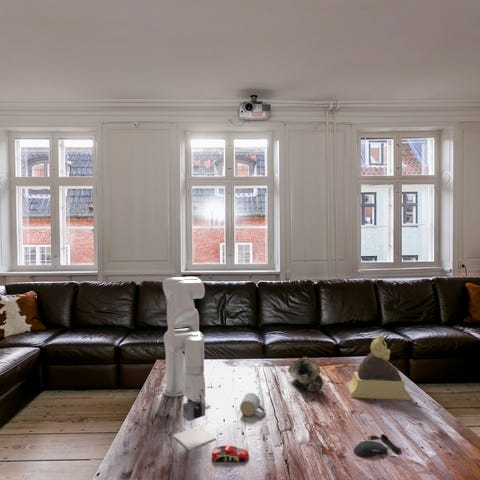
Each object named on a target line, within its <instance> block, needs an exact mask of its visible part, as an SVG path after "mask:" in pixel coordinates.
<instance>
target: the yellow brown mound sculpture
mask: <svg viewBox="0 0 480 480" xmlns="http://www.w3.org/2000/svg"><path fill="white" fill-rule="evenodd" d="M387 345H388V344H387V342H386V341H385V336H384V335H383V334H379V335H378V337H377V338H375V339H373V340H372V342H371V344H370V352H369V353H368V354H367V355H366V356H365V357H364V358H363V360H362V361H361V362H360V363H359V366H358V370H357V371H354V372H353V376H352V378H351V380H349V381H348V382H346V388H347V391H348V393H349V396H350V398H356V399H357V398H360V399H361V398H362V399H378V400H379V399H380V400H381V399H384V400H402V401H403V400H405V401H406V400H407V401H412V395H411V394H410V393H409V391H408V390H407V388H406V386H405V380H404V379H403V378H402V377H401V375H400V373H399V371H398V368H397V367H395V366H394V365H392V364H391V362H389V360H390V356H391V350H390V349H388V346H387Z"/></svg>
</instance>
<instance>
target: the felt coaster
mask: <svg viewBox="0 0 480 480" xmlns="http://www.w3.org/2000/svg"><path fill="white" fill-rule="evenodd" d="M173 437H174V438H175V439H176V440H177V441H178V442H179V443H180V444H182V446H184V447H185V448H186V449H187V450H188V451H190V450H193V449H195V448H198V447H200V446H203V445H206V444H208V443H210V442H213V441H216V440H217V438H216V436H215V435H213V434H211V433H210V431H208V430H206V429H205V428H204V427H202V426H201V425H197V426H195V427H191V428H189V429H187V430H186V429H185V430H183V431H181V432H178V433H174V434H173Z"/></svg>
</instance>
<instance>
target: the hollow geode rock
mask: <svg viewBox="0 0 480 480" xmlns="http://www.w3.org/2000/svg"><path fill="white" fill-rule="evenodd" d="M287 371H288V373H289V375H290V377H291V376H292V377H294V378H295V380H297V381H298V382H299V383H301V384H303V386H304V387H305V388H306V389H307V391H308V392H310V393H312V394H315V393H317V392H318V391H320V390H321V389H322V388H323V384H324V380H323V378H322V377H321V376H320V373H321V370H320V366H319V364H318V363H316V362H315V361H311V360H310V359H309V357H308V356H302V357H301V358H299V359H297V360H296V361H294V362H292V364H290V366H289V368H288V370H287Z"/></svg>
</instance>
